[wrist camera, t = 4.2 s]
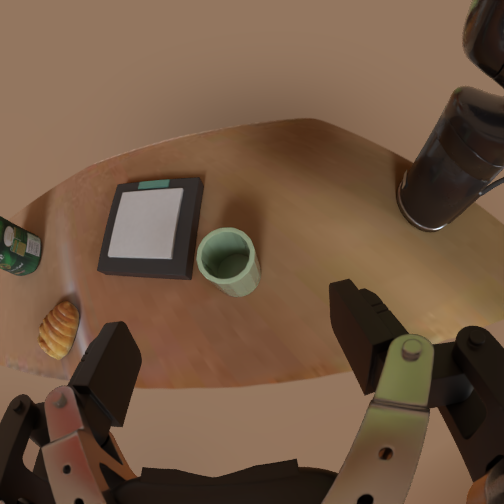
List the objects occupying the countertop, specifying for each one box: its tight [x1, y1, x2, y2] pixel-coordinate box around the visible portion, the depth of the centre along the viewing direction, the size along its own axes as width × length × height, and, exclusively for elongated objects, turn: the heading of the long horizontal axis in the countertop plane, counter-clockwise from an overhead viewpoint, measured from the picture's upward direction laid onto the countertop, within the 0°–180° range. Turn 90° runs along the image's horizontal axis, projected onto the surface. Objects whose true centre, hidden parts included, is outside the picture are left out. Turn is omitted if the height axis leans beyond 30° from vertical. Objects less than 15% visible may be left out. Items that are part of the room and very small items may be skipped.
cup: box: [197, 228, 261, 297], centre depth 31 cm, size 6×6×8 cm
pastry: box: [37, 301, 79, 360], centre depth 33 cm, size 9×7×4 cm
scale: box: [97, 177, 204, 280], centre depth 36 cm, size 14×14×3 cm
